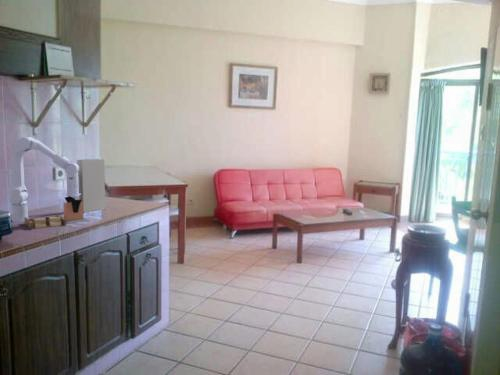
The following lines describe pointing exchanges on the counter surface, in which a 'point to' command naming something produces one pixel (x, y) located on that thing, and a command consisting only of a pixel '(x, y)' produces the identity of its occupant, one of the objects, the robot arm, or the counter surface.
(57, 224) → the offcut
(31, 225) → the rack
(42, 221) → the offcut
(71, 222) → the mat
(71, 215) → the panel
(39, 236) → the counter surface
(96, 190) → the grey tall block
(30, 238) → the counter surface
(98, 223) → the counter surface
